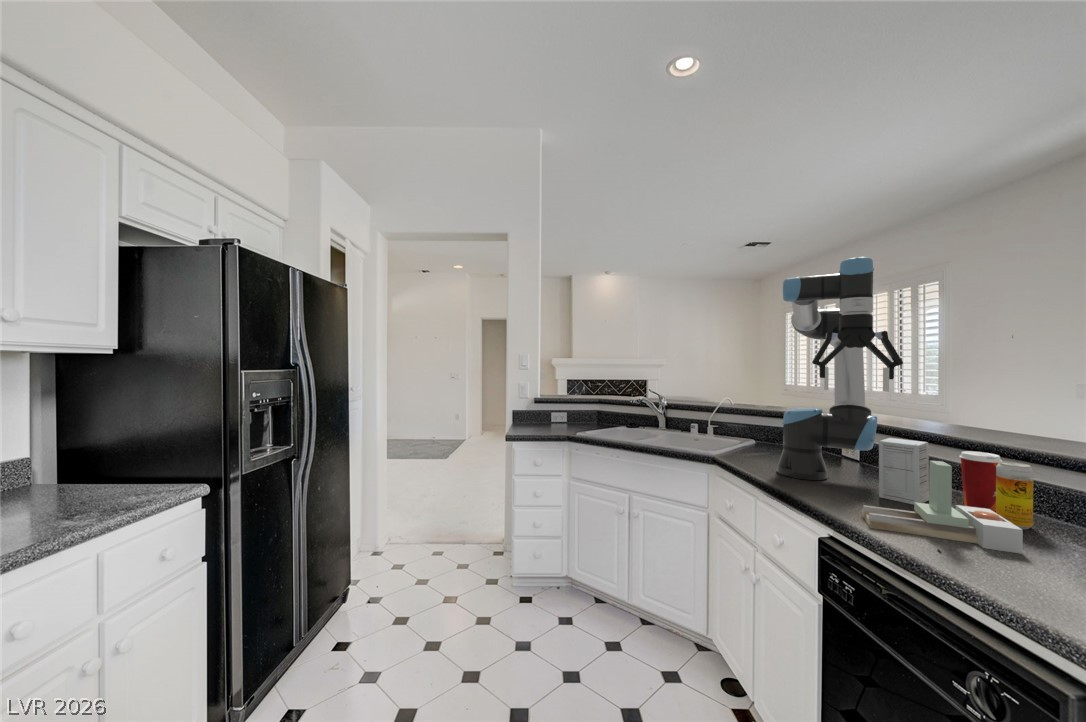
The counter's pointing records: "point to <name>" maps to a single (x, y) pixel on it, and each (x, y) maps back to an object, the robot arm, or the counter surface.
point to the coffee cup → (979, 479)
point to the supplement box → (904, 470)
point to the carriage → (940, 498)
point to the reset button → (986, 515)
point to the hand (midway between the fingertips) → (855, 390)
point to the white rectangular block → (994, 531)
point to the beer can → (1015, 493)
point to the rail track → (914, 524)
